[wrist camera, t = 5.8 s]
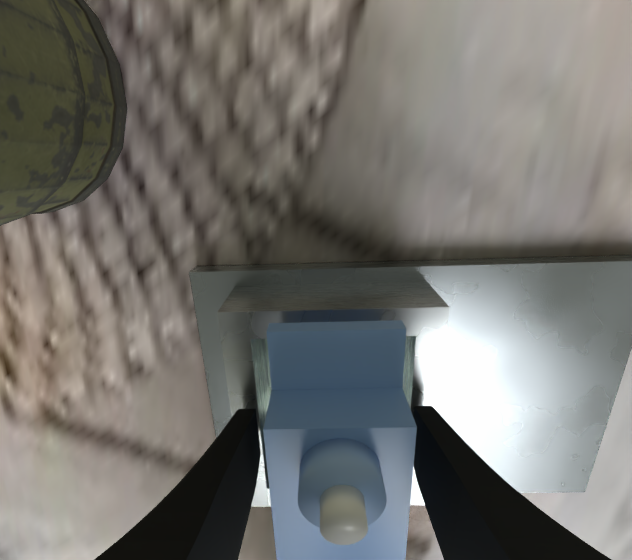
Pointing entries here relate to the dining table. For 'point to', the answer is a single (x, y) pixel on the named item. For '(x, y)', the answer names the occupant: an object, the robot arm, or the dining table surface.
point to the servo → (339, 440)
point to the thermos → (55, 106)
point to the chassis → (447, 348)
